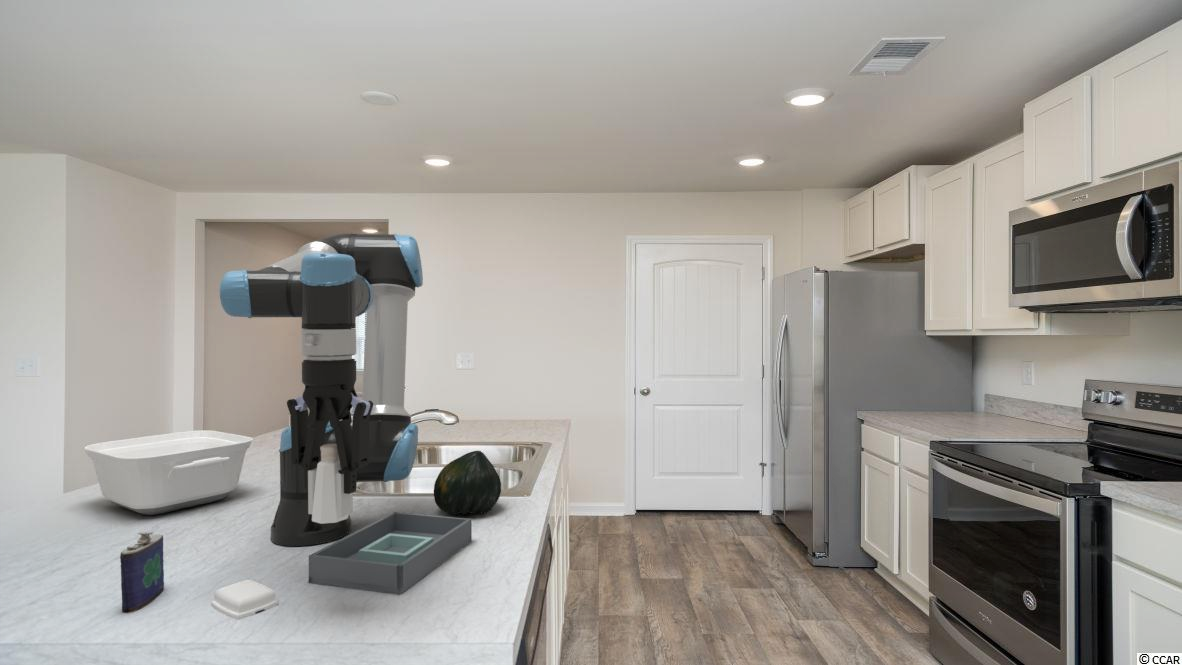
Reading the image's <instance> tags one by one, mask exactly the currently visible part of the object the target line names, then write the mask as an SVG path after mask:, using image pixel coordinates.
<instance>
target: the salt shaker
mask: <svg viewBox="0 0 1182 665" xmlns="http://www.w3.org/2000/svg"><path fill="white" fill-rule="evenodd" d="M320 450H321V460H322V461H320V462H319V463H318V464H317V471H316V481H315V491H314V502H313V512H312V521H313V522H317V523H320V524H324V523H336V522H339V521H342V520H345V519H347V518H348V516H349V515H350V513H349V514H347V515H345V516H343V517H337V476H336V473H338V471H339V470H341V465H340V460H339V455H338V450H337V445H336V444H325V445H323V446H321V447H320Z"/></svg>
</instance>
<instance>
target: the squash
mask: <svg viewBox="0 0 1182 665" xmlns="http://www.w3.org/2000/svg"><path fill="white" fill-rule="evenodd" d="M501 491H502V482H501V478H500V475H499V474H498V472H497V470H496V467H495V466H494V465H493V463H492V462H491V461H490V460H489V459H488V457H487V456H486V455H485V453H484V452H482V451H481V450H473V451H470V452H466V453H465V454H463V455H461V456H459V457H457V458H455V459H454V460H452V461H450V462H449V463H447V464H446V465H445V466H444V467H442V469H441V470H440V472H439V473H438V475H437V477H436V478H435V481H434V485H433V497H434V499H433V500H434V502H435V504H436V506H437V507H438V508H439V510H441V511H442V512H445V513H448V514H450V515H459V513H460V514H462V515H465V514H468V513H470V514H478V515H479V514H482V515H483V514H486V513H488V512H490V511H491V510H492V508H494V507H495V505H496V504H497V503H498V501H499V499H500V497H501Z"/></svg>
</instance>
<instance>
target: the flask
mask: <svg viewBox="0 0 1182 665" xmlns="http://www.w3.org/2000/svg"><path fill="white" fill-rule="evenodd" d="M137 535H140V538H138V540H137V543H135V544H134V545H132V546H130V545H129V546H127V547H126V549H123V551H121V552H120V555H119V556H120V557H119V558H120V561H119V562H120V578H121V579H120V580H121V581H120V585H121V586H120V587H121V612H122V614H126V613H127V614H130V613H134V612H137V611H139V610H141V609H143V608H144V607H145V606H147V605H149V604H150V603H152V602H153V601H155V599H156V598H157V597H158V596H159V595H160V594H162V592H164V588H165V573H164V572H165V571H164V562H165V561H164V535H163V534H160V533H158V534H154V532H153V531H151V532H149V531H147V532H146V531H141V532H138V533H137Z"/></svg>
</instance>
